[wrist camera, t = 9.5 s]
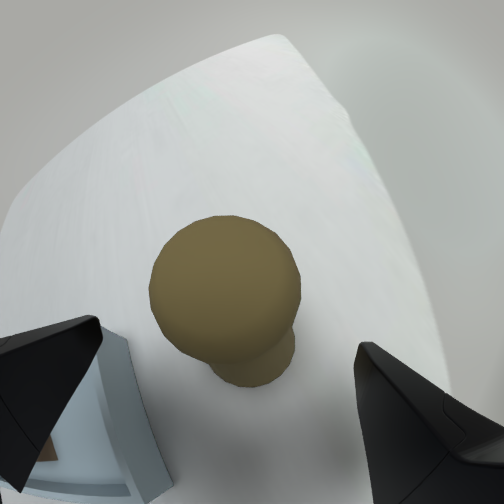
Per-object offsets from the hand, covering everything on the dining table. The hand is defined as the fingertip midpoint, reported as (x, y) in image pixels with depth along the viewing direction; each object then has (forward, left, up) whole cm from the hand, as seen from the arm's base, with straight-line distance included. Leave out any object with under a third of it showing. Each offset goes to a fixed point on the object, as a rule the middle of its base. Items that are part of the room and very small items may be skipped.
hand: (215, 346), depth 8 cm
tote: (-1, +16, -9) cm, 19 cm away
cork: (+2, -1, -10) cm, 10 cm away
